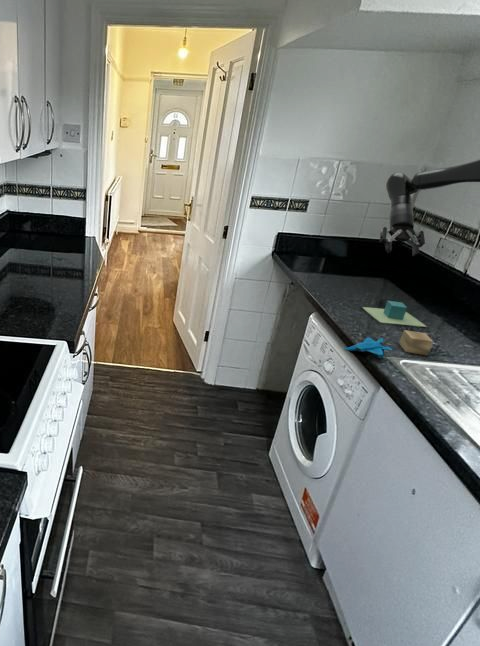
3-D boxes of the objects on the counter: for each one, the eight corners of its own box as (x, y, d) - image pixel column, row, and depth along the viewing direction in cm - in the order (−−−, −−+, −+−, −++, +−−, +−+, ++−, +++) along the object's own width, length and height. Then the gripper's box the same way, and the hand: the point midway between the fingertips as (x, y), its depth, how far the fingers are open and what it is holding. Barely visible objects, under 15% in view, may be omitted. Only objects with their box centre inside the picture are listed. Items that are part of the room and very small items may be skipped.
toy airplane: (367, 344, 134) (371, 332, 132) (397, 359, 126) (402, 347, 124) (342, 350, 130) (346, 338, 128) (372, 366, 122) (376, 354, 120)
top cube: (397, 314, 158) (402, 302, 156) (402, 319, 153) (407, 307, 151) (383, 312, 159) (387, 300, 157) (387, 317, 154) (392, 305, 152)
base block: (419, 346, 135) (425, 333, 133) (427, 355, 130) (433, 341, 128) (398, 343, 136) (404, 329, 134) (405, 352, 131) (411, 338, 129)
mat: (404, 311, 162) (404, 310, 162) (426, 327, 149) (426, 326, 149) (361, 307, 163) (362, 306, 163) (380, 323, 150) (380, 322, 150)
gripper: (385, 210, 161) (385, 246, 155) (427, 214, 157) (429, 251, 152) (376, 221, 168) (376, 256, 162) (416, 225, 164) (418, 260, 159)
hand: (402, 253), depth 157 cm, fingers open, 8 cm apart
